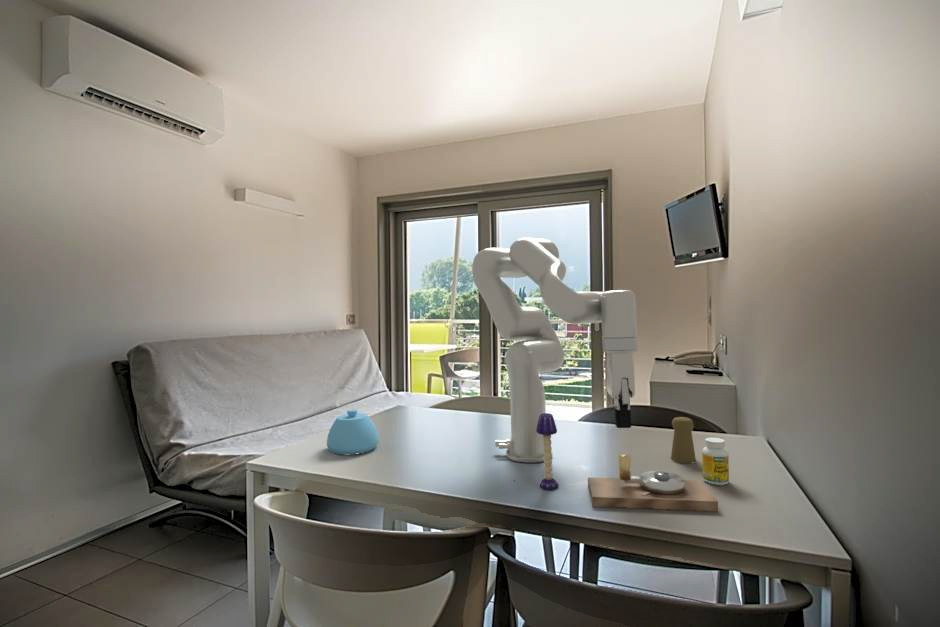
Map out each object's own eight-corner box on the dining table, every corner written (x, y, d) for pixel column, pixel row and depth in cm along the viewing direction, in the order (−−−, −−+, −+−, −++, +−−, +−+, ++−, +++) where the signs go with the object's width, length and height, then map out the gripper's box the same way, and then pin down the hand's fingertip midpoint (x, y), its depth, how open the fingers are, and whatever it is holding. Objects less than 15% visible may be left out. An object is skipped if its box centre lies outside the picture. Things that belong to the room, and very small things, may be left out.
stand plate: (592, 506, 98) (592, 495, 98) (588, 486, 109) (587, 476, 109) (718, 511, 94) (717, 500, 94) (700, 489, 105) (700, 479, 105)
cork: (698, 464, 121) (698, 420, 121) (673, 463, 123) (672, 420, 122) (692, 456, 127) (692, 415, 127) (668, 455, 129) (667, 414, 128)
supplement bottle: (717, 476, 113) (716, 435, 113) (734, 484, 108) (734, 441, 108) (697, 478, 112) (696, 437, 112) (714, 487, 107) (713, 444, 106)
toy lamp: (558, 491, 106) (556, 416, 106) (537, 491, 107) (535, 416, 106) (558, 483, 111) (556, 412, 110) (538, 482, 112) (536, 411, 111)
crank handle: (678, 478, 106) (677, 450, 106) (690, 495, 97) (690, 464, 97) (616, 476, 108) (615, 449, 108) (622, 492, 99) (622, 462, 99)
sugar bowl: (375, 439, 152) (374, 403, 152) (382, 453, 138) (381, 413, 137) (326, 445, 147) (325, 407, 147) (327, 459, 133) (326, 418, 133)
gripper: (598, 343, 115) (602, 419, 115) (606, 348, 101) (610, 435, 101) (631, 342, 114) (634, 419, 114) (644, 347, 99) (647, 435, 99)
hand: (623, 426), depth 107 cm, fingers closed
